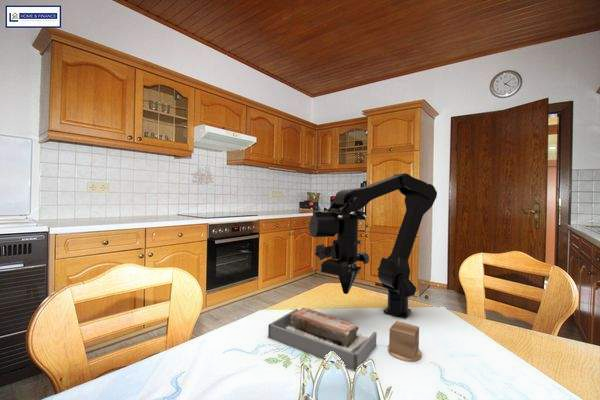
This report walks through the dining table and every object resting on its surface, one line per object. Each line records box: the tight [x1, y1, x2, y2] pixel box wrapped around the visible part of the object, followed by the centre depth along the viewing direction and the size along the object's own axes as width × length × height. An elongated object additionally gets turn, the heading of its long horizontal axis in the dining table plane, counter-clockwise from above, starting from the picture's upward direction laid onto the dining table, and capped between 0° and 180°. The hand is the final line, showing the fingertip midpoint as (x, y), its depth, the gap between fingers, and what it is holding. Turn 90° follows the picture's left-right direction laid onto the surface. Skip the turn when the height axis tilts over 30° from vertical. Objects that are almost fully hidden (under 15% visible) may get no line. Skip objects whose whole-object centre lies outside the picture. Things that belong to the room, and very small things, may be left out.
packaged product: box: [285, 307, 369, 353], centre depth 68 cm, size 18×5×10 cm
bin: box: [267, 308, 378, 372], centre depth 65 cm, size 12×22×3 cm, turn 56°
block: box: [388, 320, 420, 360], centre depth 61 cm, size 5×5×5 cm
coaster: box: [387, 344, 423, 362], centre depth 61 cm, size 7×7×1 cm
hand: (345, 293), depth 77 cm, fingers closed
